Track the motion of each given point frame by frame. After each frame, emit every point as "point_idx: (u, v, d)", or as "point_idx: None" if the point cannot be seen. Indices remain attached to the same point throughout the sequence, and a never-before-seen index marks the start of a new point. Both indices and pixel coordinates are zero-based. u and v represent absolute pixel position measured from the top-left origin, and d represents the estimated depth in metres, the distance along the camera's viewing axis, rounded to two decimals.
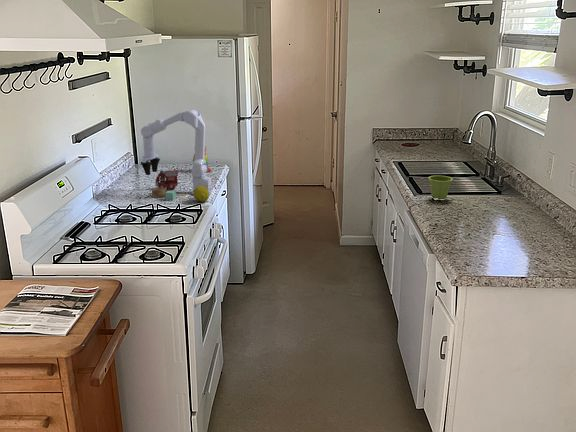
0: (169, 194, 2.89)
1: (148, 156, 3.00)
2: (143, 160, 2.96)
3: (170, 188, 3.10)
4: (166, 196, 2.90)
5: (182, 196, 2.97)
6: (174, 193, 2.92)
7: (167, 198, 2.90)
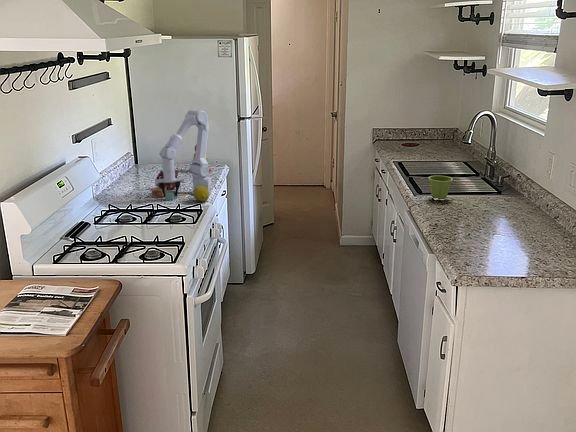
0: (169, 194, 2.89)
1: None
2: (155, 181, 2.88)
3: (170, 188, 3.10)
4: (166, 196, 2.90)
5: (182, 196, 2.97)
6: (174, 193, 2.92)
7: (167, 198, 2.90)
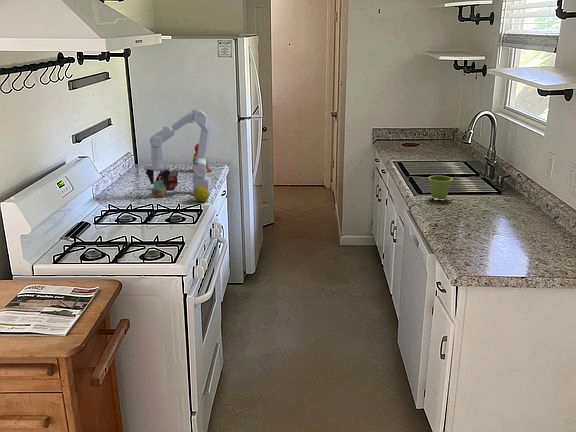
0: (156, 184, 2.95)
1: None
2: None
3: (170, 188, 3.10)
4: (154, 185, 2.96)
5: (182, 196, 2.97)
6: (162, 183, 2.96)
7: (155, 187, 2.96)
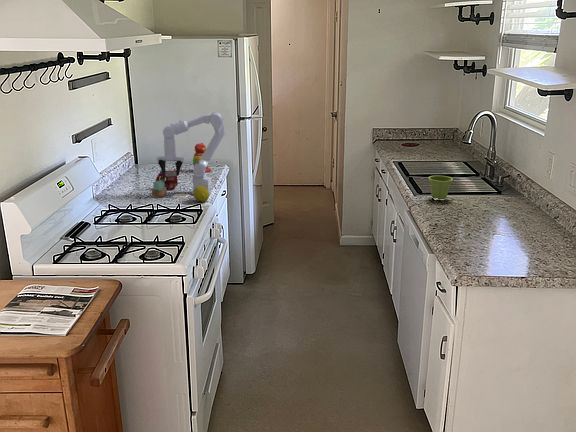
0: (156, 184, 2.94)
1: None
2: None
3: (170, 188, 3.10)
4: (154, 185, 2.96)
5: (182, 196, 2.97)
6: (162, 183, 2.96)
7: (155, 187, 2.96)
